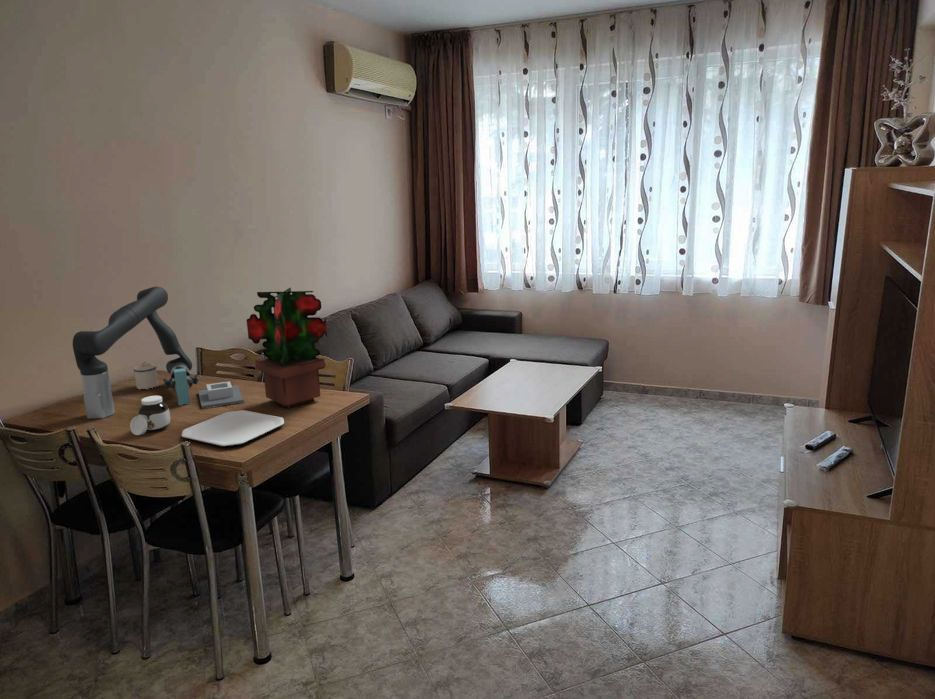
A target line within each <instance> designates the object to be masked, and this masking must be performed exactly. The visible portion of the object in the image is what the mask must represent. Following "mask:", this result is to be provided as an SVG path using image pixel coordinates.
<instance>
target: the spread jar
mask: <svg viewBox="0 0 935 699" xmlns="http://www.w3.org/2000/svg"><path fill="white" fill-rule="evenodd" d="M170 423H171V412H170V408H169V406H168V404H167V403H165V402H164V401H163V396H161V395H150V396H146V397H143V398H141V405H140V407H139V409H138V411H137V415H136V416H133V418H132V419H131V421H130V424H129V425H130V427H129V428H130V431H131V433H132V434H133V435H135V436H142V435H144V434H145V433H146V432H148V433H157V432H161V431H164V430H165V429H166V428H167V427H168V426H169V425H170Z"/></svg>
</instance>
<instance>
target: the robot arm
mask: <svg viewBox="0 0 935 699" xmlns="http://www.w3.org/2000/svg"><path fill="white" fill-rule="evenodd" d="M168 299H169V295H168V292H167V291H166V289H165V288H164V287H161V286H151V287H149V288H148V287H147V288H145V289H142V290H139V291H138V293H137V294H136V300H134V301H132V302H130V303H127V304H125V305H123V306H121V307H120V308H118V309H117V310H115V311H114V312H112V314H110V316H109V318H108V324H107V325H106V326H105V327H104V328H103V329H100V330H95V331H93V330H91V331H90V330H89V331H88V330H82V331H77V332H76V333H75V334H74V335H73V337H72V350H73V355H74V360H75V363H76V366H77V369H78V370H79V372H80V378H81V384H82V390H83V402H84V406H85V413H86V418H87V419H104V418H106V417H107V418H108V417H111V416H112V415H114V414H115V413H116V412H115V411H116V410H115V405H114V400H113V398H114V397H113V393H112V387H111V382H110V376H109V375H110V374H109V368H108V364H107V363H106V362H104V361H102V360H100V359H98V358H97V357H98V356H101V355H103V354H105V353H106V352H107V351H108V350H110V348H111V347H112V346H113V345H115V343H116V342H117V341H118V340H120V339H121V338H122V337H124V336H125V335H126V334H127V333H128V332H130V331H131V330H133V329H134V328H135V327H137V326H138V325H139V324H140V323H142V321H144V320H145V319H147V321H148V323H149V324H150V326H151V327H152V329H153V330H154V332H155V334H156V336H157V338H158V340H159V343H160V345H161V347H162V350H163V352H164V354H165V355H166V356H172V355H178V356H179V357H177V358H174V359H171V360H168V362H166V365H165V368H166V372H167V373H168V374H169V375H170V378H169V379H168V378H162V382H163V386H164V387H165V388H166V389H169V388H170V389H173V390H176V383H175V376H174V369H182V368H186V375H187V383H188V388H192V387H193V384H194V385H197V384H198V383H199V380H200V377H199V374H195V375H193V376H192V375H191V372H190V371H191V370H192V369H193V362H192V360H191V359H190V358H189V357H188V355H187V354H186V353H185V351H184V350H183V348H182V347H181V345H180V342H179V340H178V337H177V335H176V332H174V330H173V329H172V328H171V327H170V326H169V325H168V324H167V323H166V322H164V320H162V319H161V317H160V316H159V314H158V311H157V310H159V309H160V308H163V307H164V306H166V305H167V303H168ZM96 356H97V357H96Z"/></svg>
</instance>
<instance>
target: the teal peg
mask: <svg viewBox="0 0 935 699" xmlns="http://www.w3.org/2000/svg"><path fill="white" fill-rule="evenodd" d="M174 376H175V383H176V387H175V390H176V396H177V405H178V406H179V405H180V406H184V405H183V404H187V405H190V404H191V398H190V390H189V385H188V383H187V375H186V368H182V369H174ZM189 403H190V404H189Z"/></svg>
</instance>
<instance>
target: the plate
mask: <svg viewBox="0 0 935 699" xmlns="http://www.w3.org/2000/svg"><path fill="white" fill-rule="evenodd" d="M283 425H285V419H284V417H282V416H281V417H280V416H276V415H271V414H264V413H260V412H254V411H249V410H243V409H242V410H232V411H226V412H224V413H223V412H222V413H220V414H218V415H215V416H213V417H211V418H208V419H206V420H204V421H202V422H199V423H196V424H194V425H191V426H189V427H187V428H184V429H183V430H182V432H181V434H180V435H181V436H180V437H181V438H182V439H183V438H184V439H188V440H193V441H197V442H199V443H200V442H201V443H205V444H210V445H213V446H214V445H215V446H217V447H223V448H224V447H225V448H227V447H226V446H229V447H235V446H234V445H237V446H241V444H242V445H244V444H247V443H248V441H249V442H251V441H253V440H255V439H257V438H259V437H261V436H264V435H265V433H266V434H267V432H268V433H270V432H272V431H274V430H276V429H278V428H280V427H283ZM250 440H251V441H250Z"/></svg>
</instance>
